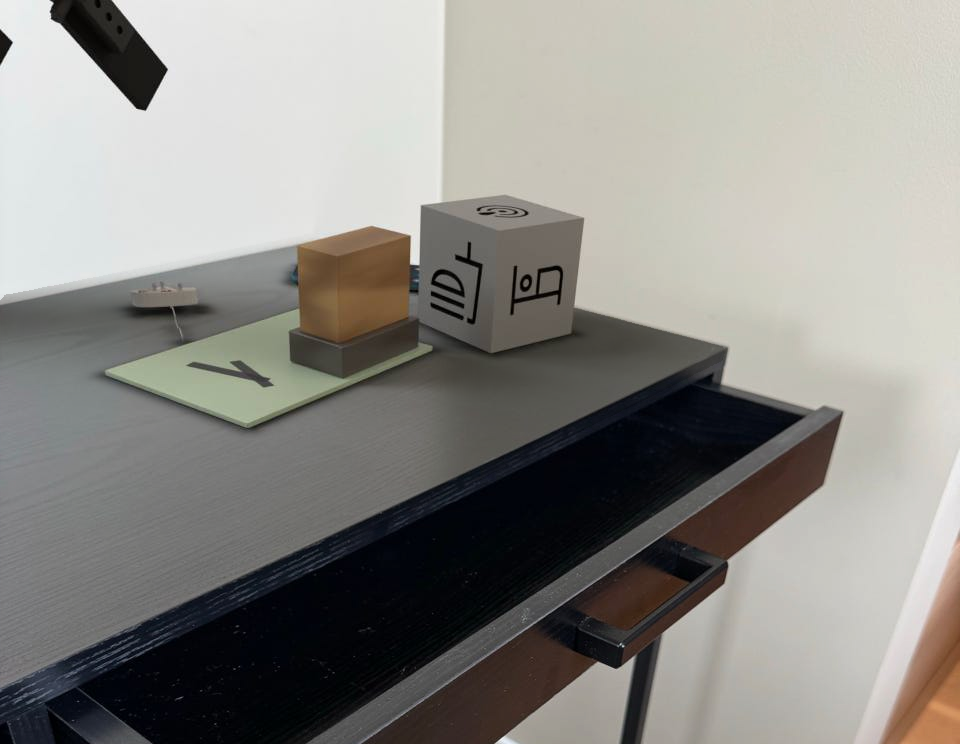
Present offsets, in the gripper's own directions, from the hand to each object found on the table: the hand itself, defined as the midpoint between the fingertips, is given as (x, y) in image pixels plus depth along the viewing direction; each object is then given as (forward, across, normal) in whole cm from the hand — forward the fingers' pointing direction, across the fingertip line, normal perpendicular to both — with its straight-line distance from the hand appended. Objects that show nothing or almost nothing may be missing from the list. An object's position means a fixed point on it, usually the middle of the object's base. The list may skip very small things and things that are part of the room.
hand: (72, 74), depth 57 cm
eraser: (+28, +5, -1) cm, 29 cm away
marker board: (+25, +1, -4) cm, 26 cm away
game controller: (+26, -13, -4) cm, 29 cm away
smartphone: (+42, -9, +12) cm, 45 cm away
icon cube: (+39, +9, +9) cm, 41 cm away
